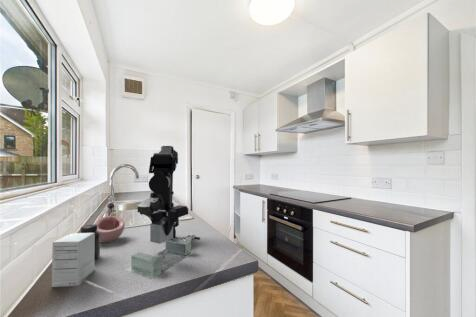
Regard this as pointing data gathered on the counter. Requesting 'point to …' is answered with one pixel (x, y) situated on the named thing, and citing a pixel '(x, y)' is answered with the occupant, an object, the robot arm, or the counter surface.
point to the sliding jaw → (180, 245)
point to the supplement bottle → (92, 229)
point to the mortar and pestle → (110, 228)
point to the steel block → (159, 232)
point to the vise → (154, 263)
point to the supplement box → (72, 259)
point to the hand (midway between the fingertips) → (162, 234)
